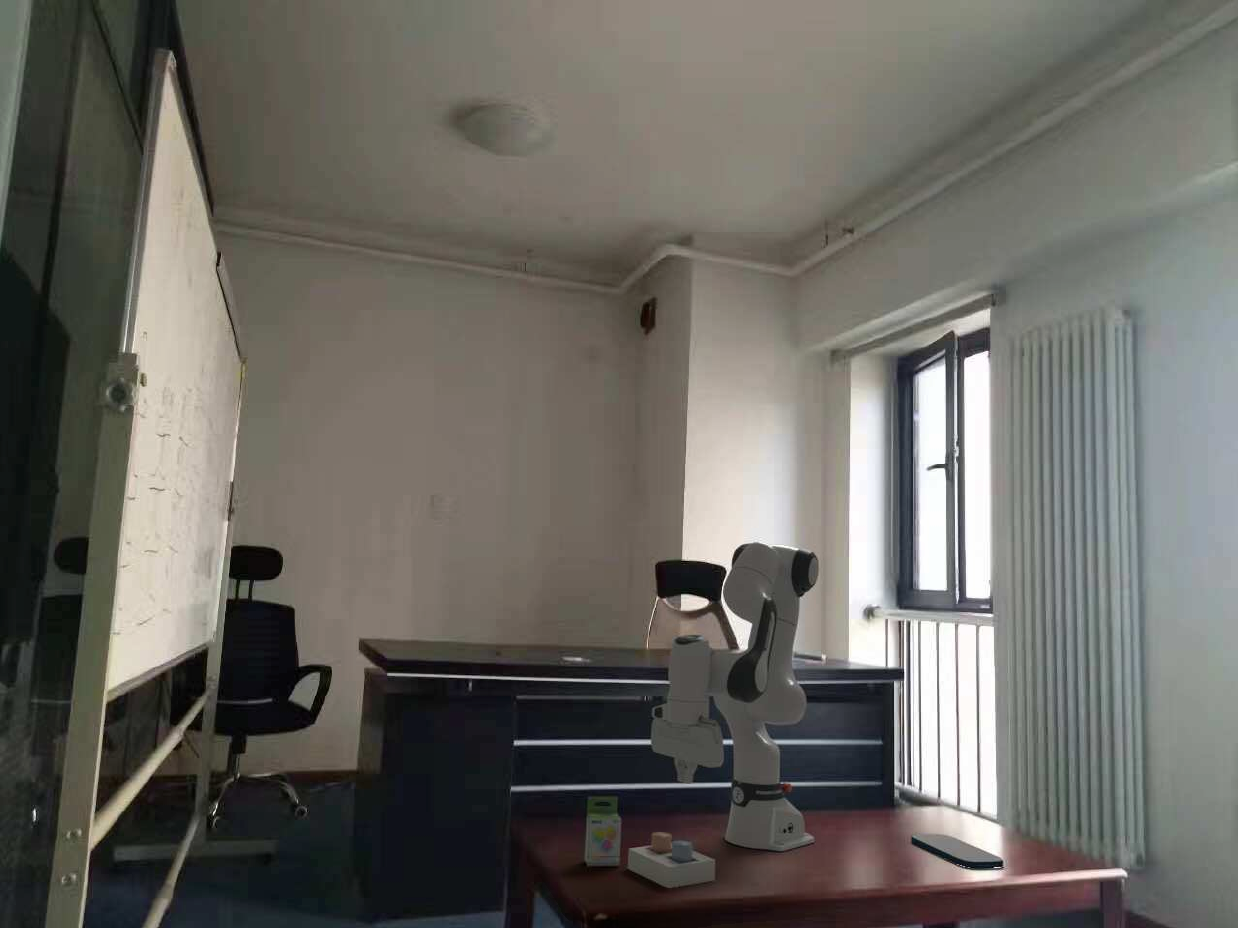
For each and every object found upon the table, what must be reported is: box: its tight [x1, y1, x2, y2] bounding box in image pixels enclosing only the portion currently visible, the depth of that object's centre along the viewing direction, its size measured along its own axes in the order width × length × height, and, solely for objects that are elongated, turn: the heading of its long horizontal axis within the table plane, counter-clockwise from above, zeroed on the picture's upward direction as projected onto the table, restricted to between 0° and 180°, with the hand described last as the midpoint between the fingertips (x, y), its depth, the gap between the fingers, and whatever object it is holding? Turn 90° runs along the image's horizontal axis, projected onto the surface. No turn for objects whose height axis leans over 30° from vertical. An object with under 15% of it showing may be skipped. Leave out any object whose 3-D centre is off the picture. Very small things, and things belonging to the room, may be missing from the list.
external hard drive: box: [910, 833, 1004, 868], centre depth 212 cm, size 24×12×2 cm, turn 16°
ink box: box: [583, 796, 622, 867], centre depth 189 cm, size 7×4×13 cm, turn 103°
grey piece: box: [671, 840, 694, 864], centre depth 181 cm, size 4×4×4 cm
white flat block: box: [627, 842, 716, 889], centre depth 184 cm, size 12×14×4 cm
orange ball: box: [650, 831, 673, 854], centre depth 187 cm, size 4×4×4 cm
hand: (685, 782), depth 184 cm, fingers closed
